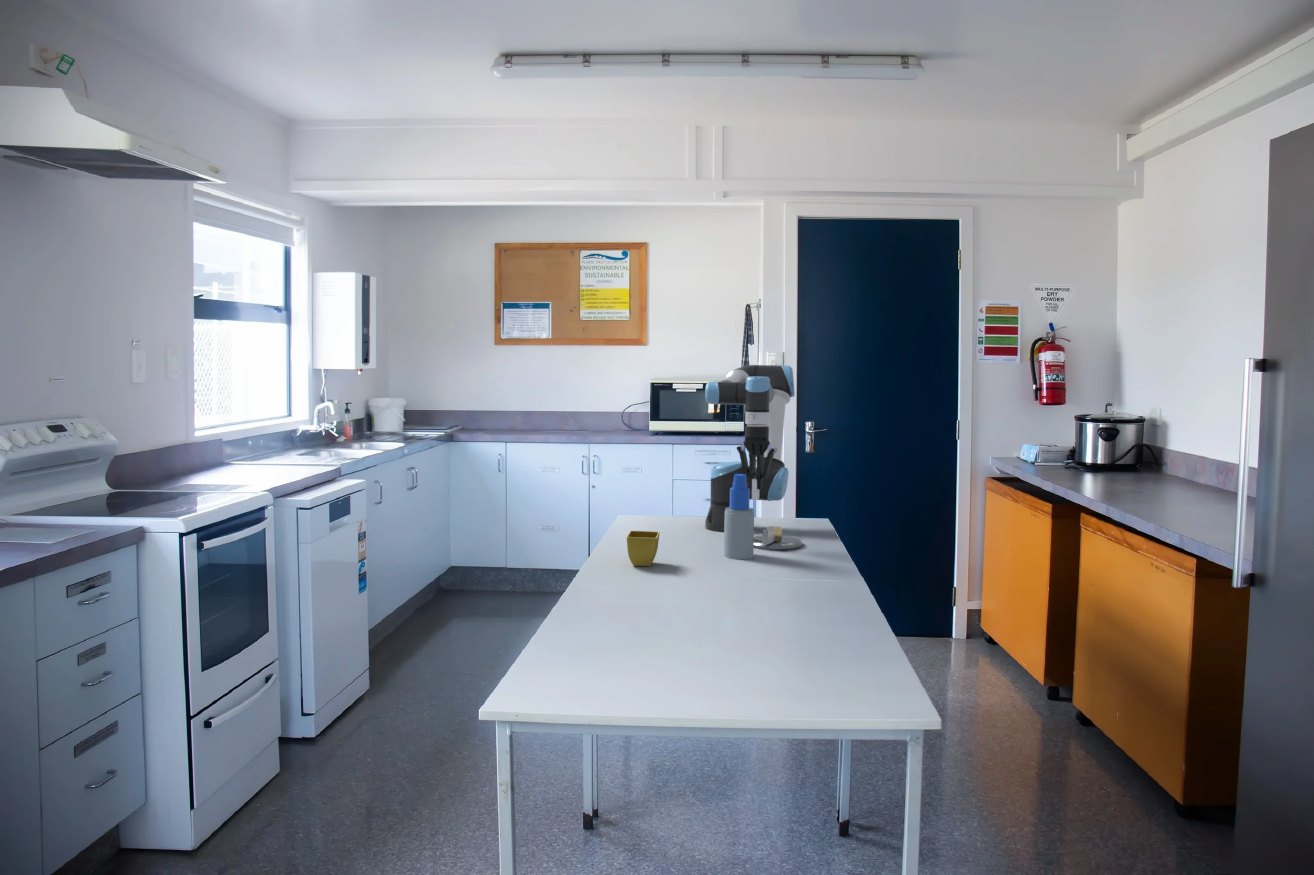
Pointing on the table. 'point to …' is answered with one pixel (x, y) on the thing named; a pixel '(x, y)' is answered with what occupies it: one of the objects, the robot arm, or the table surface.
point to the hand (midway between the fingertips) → (755, 499)
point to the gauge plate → (778, 544)
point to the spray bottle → (739, 522)
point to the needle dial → (772, 534)
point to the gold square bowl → (642, 547)
